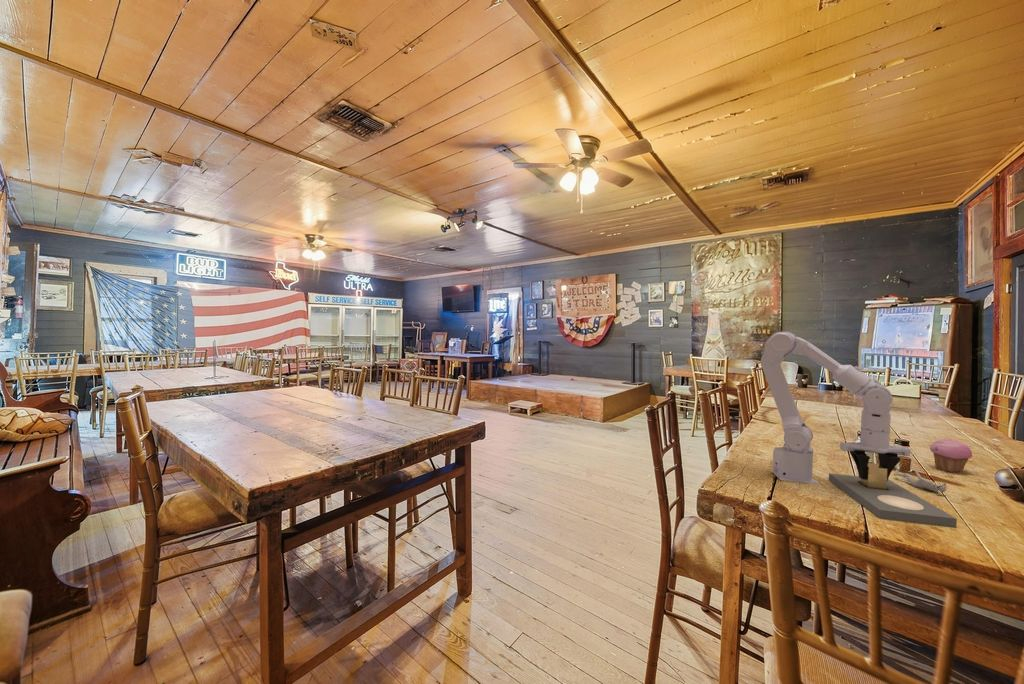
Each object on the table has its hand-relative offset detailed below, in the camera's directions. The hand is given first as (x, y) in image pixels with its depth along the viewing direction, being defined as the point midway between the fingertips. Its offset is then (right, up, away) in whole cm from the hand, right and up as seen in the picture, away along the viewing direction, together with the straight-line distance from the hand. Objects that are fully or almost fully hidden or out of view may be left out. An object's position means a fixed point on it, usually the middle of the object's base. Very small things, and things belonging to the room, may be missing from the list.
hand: (872, 479), depth 105 cm
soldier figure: (+18, -5, +5) cm, 19 cm away
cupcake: (+42, -4, +19) cm, 46 cm away
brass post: (0, -3, 0) cm, 3 cm away
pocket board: (-1, -4, -5) cm, 7 cm away
